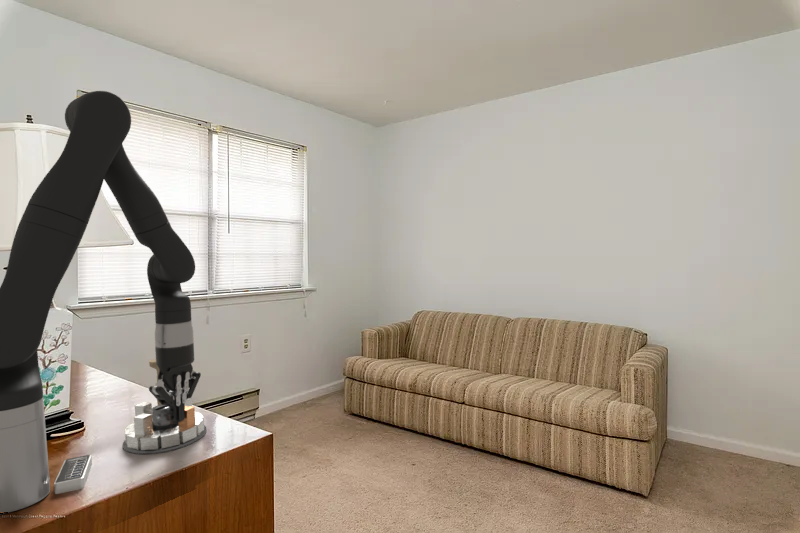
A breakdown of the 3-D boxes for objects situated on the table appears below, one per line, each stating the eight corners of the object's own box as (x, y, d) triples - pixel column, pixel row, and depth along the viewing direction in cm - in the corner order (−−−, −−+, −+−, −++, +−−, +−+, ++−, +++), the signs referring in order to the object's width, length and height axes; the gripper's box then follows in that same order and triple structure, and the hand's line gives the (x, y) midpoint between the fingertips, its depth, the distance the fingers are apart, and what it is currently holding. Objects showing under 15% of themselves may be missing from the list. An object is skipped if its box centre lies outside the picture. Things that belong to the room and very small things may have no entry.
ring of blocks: (152, 460, 96) (150, 425, 95) (106, 444, 104) (104, 411, 104) (222, 430, 110) (220, 399, 110) (176, 418, 119) (175, 389, 118)
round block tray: (157, 455, 97) (155, 424, 96) (109, 442, 104) (108, 413, 103) (218, 426, 111) (217, 399, 110) (173, 417, 118) (171, 391, 117)
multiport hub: (54, 496, 84) (53, 483, 84) (66, 470, 94) (65, 458, 93) (84, 489, 86) (83, 477, 86) (92, 465, 95) (91, 453, 95)
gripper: (164, 350, 95) (168, 434, 95) (209, 337, 107) (212, 412, 108) (135, 348, 97) (139, 431, 98) (183, 336, 110) (186, 409, 110)
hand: (177, 421), depth 103 cm, fingers closed
